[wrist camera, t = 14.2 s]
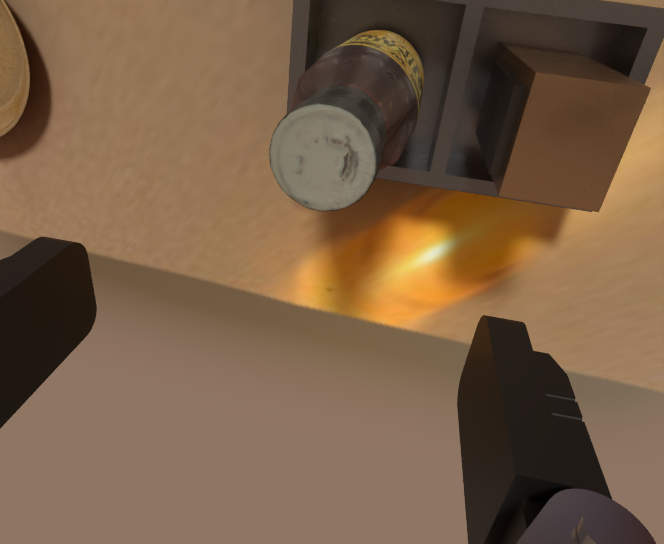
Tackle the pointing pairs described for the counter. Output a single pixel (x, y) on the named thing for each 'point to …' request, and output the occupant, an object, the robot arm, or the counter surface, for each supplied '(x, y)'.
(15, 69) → the plant saucer
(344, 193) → the sauce bottle
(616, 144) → the two-compartment tray
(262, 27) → the counter surface
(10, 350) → the robot arm
